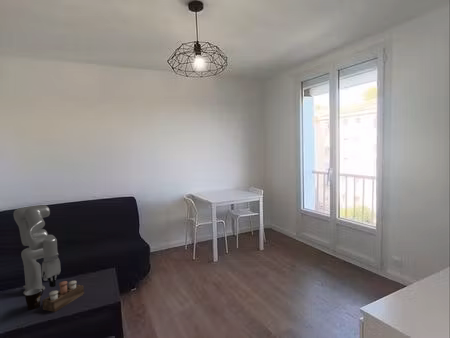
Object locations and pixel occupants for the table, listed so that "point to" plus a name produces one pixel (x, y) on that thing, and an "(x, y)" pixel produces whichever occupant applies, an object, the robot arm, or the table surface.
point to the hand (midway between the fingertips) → (52, 286)
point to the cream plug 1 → (53, 295)
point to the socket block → (63, 299)
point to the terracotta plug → (63, 287)
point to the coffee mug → (33, 298)
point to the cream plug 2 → (72, 284)
